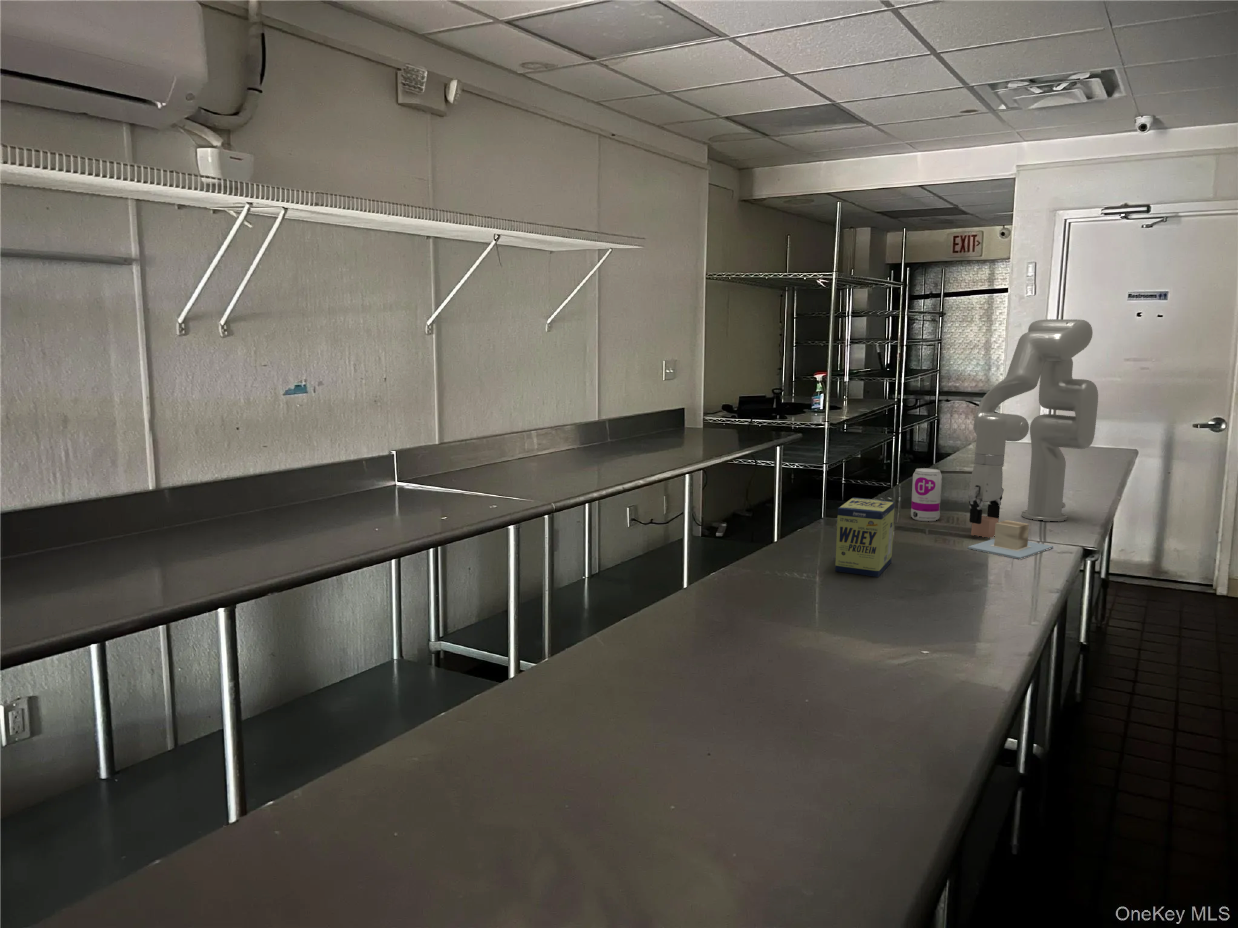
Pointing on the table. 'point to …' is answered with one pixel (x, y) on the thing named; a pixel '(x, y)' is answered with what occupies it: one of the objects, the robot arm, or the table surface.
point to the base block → (1011, 534)
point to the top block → (985, 527)
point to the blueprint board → (1020, 553)
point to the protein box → (864, 536)
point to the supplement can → (926, 494)
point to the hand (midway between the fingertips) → (984, 521)
